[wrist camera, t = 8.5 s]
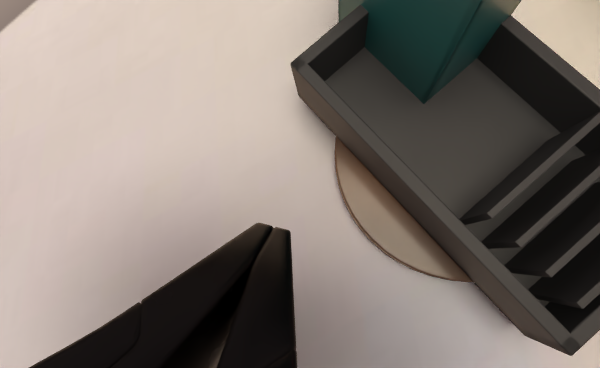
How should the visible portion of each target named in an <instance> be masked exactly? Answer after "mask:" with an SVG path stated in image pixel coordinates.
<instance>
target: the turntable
mask: <svg viewBox="0 0 600 368" xmlns="http://www.w3.org/2000/svg"><path fill="white" fill-rule="evenodd" d="M335 166H336V175H337V180H338V185H339V189H340V192H341V194H342V197H343V200H344V203H345V205H346V207H347V209H348V211H349V212H350V214H351V216H352V218H353V219H354V221H355V222H356V224H357V225H358V227H359V228H360V229H361V231H362V232H363V233H364V234H365V235H366V236H367V237H368V238H369V240H370V241H371V242H372V243H373V244H375V245H376V246H377V247H378V248H379V249H380V250H381V251H383V252H384V253H385V254H387V255H388V256H390V257H391V258H393V259H394V260H396V261H397V262H399V263H401V264H403V265H405V266H407V267H409V268H411V269H413V270H415V271H418V272H421V273H424V274H426V275H429V276H433V277H438V278H442V279H447V280H452V281H463V282H474V281H473V280H472V279H471V278H470V277H469V276H468V275H467V274H466V273H465V272H464V271H463V270H462V269H461V268H460V267H459V265H458V264H457V263H456V262H455V261H454V260H453V259H452V258H451V257H450V256H449V255H448V254H447V253H446V252H445V251H444V250H443V248H442V247H441V246H440V245H439V244H438V243H437V242H436V241H435V240H434V239H433V238H432V237H431V236H430V235H429V234H428V233H427V232H426V230H425V229H424V228H423V227H422V226H421V225H420V224H419V223H418V222H417V221H416V220H415V219H414V218H413V217H412V216H411V215H410V213H409V212H408V211H407V210H406V209H405V208H404V207H403V206H402V205H401V204H400V203H399V202H398V201H397V200H396V199H395V198H394V196H393V195H392V194H391V193H390V192H389V191H388V190H387V189H386V188H385V187H384V186H383V185H382V184H381V183H380V182H379V181H378V179H377V178H376V177H375V176H374V175H373V174H372V173H371V172H370V171H369V170H368V169H367V168H366V167H365V166H364V165H363V164H362V163H361V161H360V160H359V159H358V158H357V157H356V156H355V155H354V154H353V153H352V152H351V151H350V150H349V149H348V148H347V147H346V146H345V144H344V143H343V142H342V141H341V140H340V139H339V138H338V137H337V136H336V142H335Z"/></svg>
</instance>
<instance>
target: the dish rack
mask: <svg viewBox="0 0 600 368" xmlns="http://www.w3.org/2000/svg"><path fill="white" fill-rule="evenodd" d="M338 1H339V23H338V24H337V25H335V26H334V27H333V28H332V29H331V30H329V31H328V32H327V33H326V34H325V35H323V36H322V37H321V38H320V39H319V40H318V41H316V42H315V43H314V44H313V45H312V46H310V47H309V48H308V49H307V50H306V51H305V52H303V53H302V54H301V55H300V56H299V57H297V58H296V59H295V60H294V61H293V62H291V68H292V72H293V76H294V80H295V83H296V87H297V91H298V95H299V97H300V98H301V99H302V100H303V101H304V102H305V103H306V104H307V105H308V106H309V107H310V108H311V109H312V110H313V112H314V113H315V114H316V115H317V116H318V117H319V118H320V119H321V120H322V121H323V122H324V123H325V124H326V125H327V126H328V127H329V129H330V130H331V131H332V132H333V133H334V134H335V135H336V136H337V137H338V138H339V139H340V140H341V141H342V142H343V143H344V144H345V146H346V147H347V148H348V149H349V150H350V151H351V152H352V153H353V154H354V155H355V156H356V157H357V158H358V159H359V160H360V161H361V163H362V164H363V165H364V166H365V167H366V168H367V169H368V170H369V171H370V172H371V173H372V174H373V175H374V176H375V177H376V178H377V179H378V181H379V182H380V183H381V184H382V185H383V186H384V187H385V188H386V189H387V190H388V191H389V192H390V193H391V194H392V195H393V196H394V198H395V199H396V200H397V201H398V202H399V203H400V204H401V205H402V206H403V207H404V208H405V209H406V210H407V211H408V212H409V213H410V215H411V216H412V217H413V218H414V219H415V220H416V221H417V222H418V223H419V224H420V225H421V226H422V227H423V228H424V229H425V230H426V232H427V233H428V234H429V235H430V236H431V237H432V238H433V239H434V240H435V241H436V242H437V243H438V244H439V245H440V246H441V247H442V248H443V250H444V251H445V252H446V253H447V254H448V255H449V256H450V257H451V258H452V259H453V260H454V261H455V262H456V263H457V264H458V265H459V267H460V268H461V269H462V270H463V271H464V272H465V273H466V274H467V275H468V276H469V277H470V278H471V279H472V280H473V281H474V282H475V284H476V285H477V286H478V287H479V288H480V289H481V290H482V291H483V292H484V293H485V294H486V295H487V296H488V297H489V298H490V299H491V300H492V302H493V303H494V304H495V305H496V306H497V307H498V308H499V309H500V310H501V311H502V312H503V313H504V314H505V315H506V316H507V317H508V319H509V320H510V321H511V322H512V323H513V324H514V325H515V326H516V327H517V328H518V329H519V330H520V331H521V332H522V333H523V334H524V335H525V336H527V337H529V338H531V339H534V340H536V341H538V342H540V343H543V344H545V345H547V346H550V347H552V348H554V349H556V350H559V351H561V352H563V353H566V354H568V355H570V356H572V355H573V354H574V353H575V352H576V351H578V350H579V349H580V348H581V347H582V346H583V345H584V344H585V343H586V342H587V341H588V340H589V339H590V338H592V337H593V336H594V335H595V334H596V333H597V332H598V331H599V330H600V90H599V89H598V88H597V87H596V86H595V85H593V84H592V83H591V82H590V81H589V80H587V79H586V78H585V77H584V76H583V75H581V74H580V73H579V72H578V71H577V70H575V69H574V68H573V67H572V66H571V65H570V64H568V63H567V62H566V61H565V60H564V59H562V58H561V57H560V56H559V55H558V54H556V53H555V52H554V51H553V50H552V49H550V48H549V47H548V46H547V45H546V44H544V43H543V42H542V41H541V40H540V39H538V38H537V37H536V36H535V35H534V34H532V33H531V32H530V31H529V30H528V29H526V28H525V27H524V26H523V25H522V24H520V23H519V22H518V21H517V20H516V19H514V18H513V17H512V16H511V14H512V13H513V11H514V10H515V9H516V7H517V6H518V4H519V3H520V2H521V0H338Z"/></svg>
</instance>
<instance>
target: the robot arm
mask: <svg viewBox="0 0 600 368" xmlns="http://www.w3.org/2000/svg"><path fill="white" fill-rule="evenodd" d="M29 368H297V352H296V335H295V315H294V294H293V274H292V253H291V234H290V231H289V230H286V229H282V228H278V227H275V228H273V227H272V226H270V225H266V224H263V223H256V224H255V225H253V226H252V227H250V228H249V229H247V230H246V231H244V232H243V233H241V234H240V235H238V236H237V237H235V238H234V239H232V240H231V241H229V242H228V243H226V244H225V245H223V246H222V247H220V248H219V249H217V250H216V251H214V252H213V253H211V254H210V255H208V256H207V257H206V258H204V259H203V260H201V261H200V262H198V263H197V264H195V265H194V266H192V267H191V268H189V269H188V270H186V271H185V272H183V273H182V274H180V275H179V276H177V277H176V278H174V279H173V280H171V281H170V282H168V283H167V284H165V285H164V286H162V287H161V288H159V289H158V290H156V291H155V292H153V293H152V294H150V295H149V296H147V297H146V298H144V299H143V300H142V301H141V303H137V304H135V305H134V306H132V307H131V308H129V309H128V310H126V311H125V312H123V313H122V314H120V315H119V316H117V317H116V318H114V319H112V320H111V321H109V322H108V323H106V324H105V325H103V326H101V327H100V328H98V329H97V330H95V331H93V332H91V333H90V334H88V335H86V336H85V337H83V338H81V339H79V340H78V341H76V342H74V343H72V344H71V345H69V346H67V347H65V348H64V349H62V350H60V351H58V352H56V353H55V354H53V355H51V356H49V357H47V358H46V359H44V360H42V361H40V362H38V363H36V364H35V365H33V366H31V367H29Z"/></svg>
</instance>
